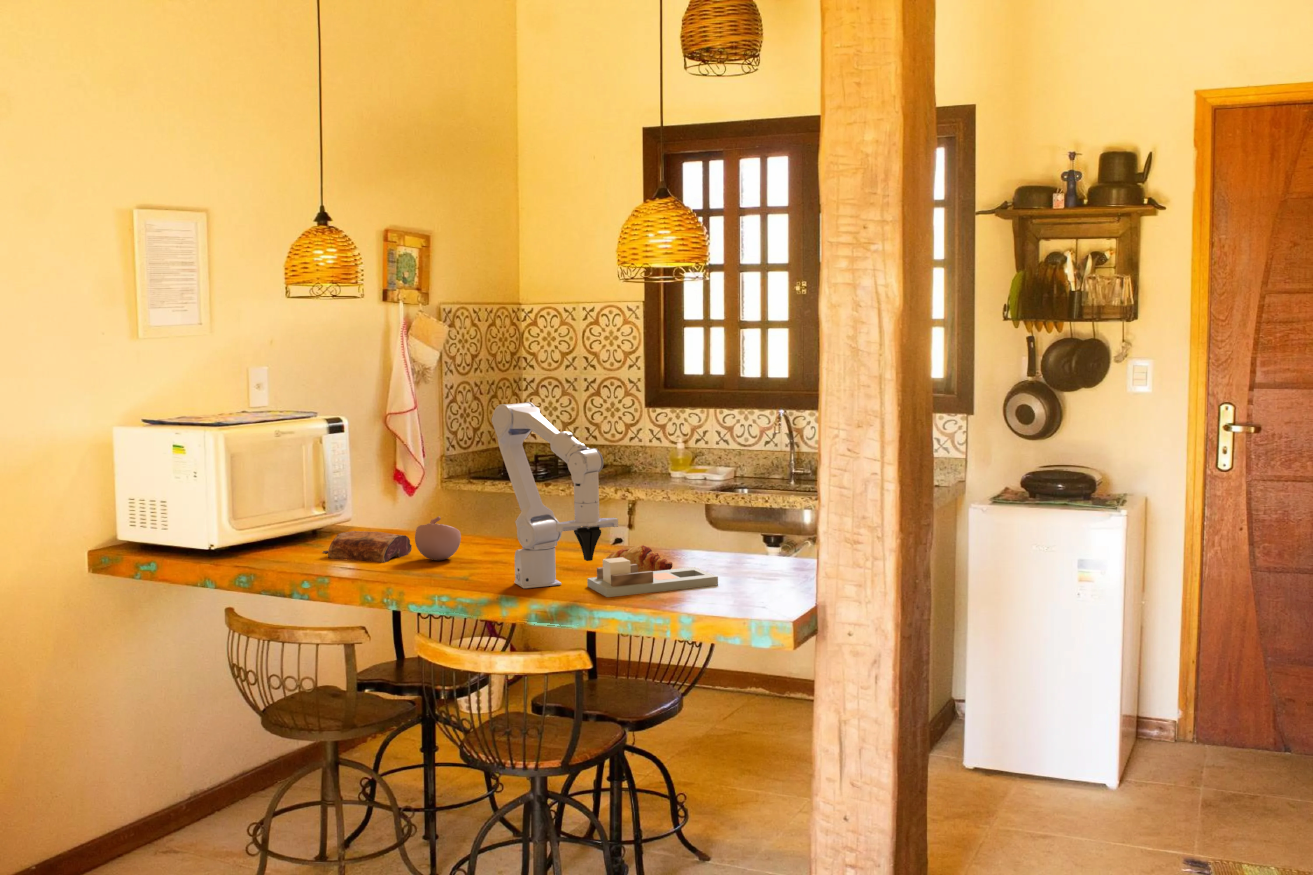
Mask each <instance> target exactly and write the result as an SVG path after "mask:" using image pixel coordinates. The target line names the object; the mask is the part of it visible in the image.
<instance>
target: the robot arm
mask: <svg viewBox="0 0 1313 875" xmlns="http://www.w3.org/2000/svg"><path fill="white" fill-rule="evenodd" d="M490 420H491V423H492V426H493V428H494V432H495V435H496V437H497V444H498V447H499V450H500V453H501V456H502V459H503V462H504V465H505V468H506V472H507V473H508V477H509V480H510V483H511V486H512V490H513V492H514V495H515V497H516V502H517V504H518V506H519V509H520V513H519V515H518V516H517V517H516V520H515V521H514V523H515V525H516V536H517V540H518V542H519V544H520V545H521V546H522V548H521V549H516V550H515V553H514V579H515V580H514V584H516V585H517V586H519V587H520V588H523V589H532V588H533V589H534V588H542V587H549V586H550V587H551V586H552V587H553V586H560V585H562V582H561V581H559V580H558V579H556V578H557V577H556V575H557V572H556V568H557V567H556V546H557V547H558V542H559V541H560V539H561V537H562V533H563V532H569V531H573V533H574V536H575V537H576V539H577V541H578V543H579V545H580V549H581V551H582V555H583V559H584V561H587V562H592V561H593V559H594V553H595V549H596V546H597V543H598V541H599V538H600V537H601V535H602V528H619V518H616V517H602V518H601V517H600V490H599V489H600V487H599V485H600V484H599V483H600V482H599V481H600V479H599V473H600V472H601V470H602V469H603V467H604V458H603V455H602V453H601V452H600V450H599V449H598V448H596V447H592V448H590V447H587V446H586V445H585V444H584V443H582V442H580V440H578V439H577V438H575V437H574V436H573V435H574V434H573V433H572V432H571V431H565V430H564V431H559V430H558V429H557V428H556V427H555V425H553V424H552V423H551V422H550V421H549V420H548V419H546V417H545V416H543V415H542V414H541V410H540V407H538V406H536V405H535V404H534V403H533V402H531V401H525V402H520V403H519V402H518V403H510V404H509V403H508V404H505V403H503V404H498V405H497V406H496V407H495V409H494V410H493V413H492V417H491V419H490ZM531 432H533V433H535V434H536V435H537V436H539V437H540V438H541V439H543V440H545V441H547V443H548V444H550V446H549V447H550V450H551V452H553V453H554V454H555V455H556V456H557V457H559V459H561V460H562V461H564V462H565V463H566V464H567V465H566V466H567V468H568V471H569V472H570V474H571V476H570V477H571V481H572V483H573V500H574V501H573V504H574V505H573V506H574V507H573V508H574V520H567V521H566V520H565V521H561V522H560V521H559V520H558V519H557V517H556V516H555V513H554V511H553V510H552V509H551V508H549V507H547V506H546V505H544V503H543V502H542V501H543V500H542V497H541V495H540V492H539V489H538V487H537V486H538V485H537V484H536V482H535V478H534V474H533V472H532V469H531V466H530V463H529V460H528V458H527V455H526V451H525V449H524V446H523V445H524V444H523V443H524V441H525V440H526V439H528V437H529V435H530V434H531Z"/></svg>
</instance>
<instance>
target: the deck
mask: <svg viewBox="0 0 1313 875" xmlns="http://www.w3.org/2000/svg"><path fill="white" fill-rule="evenodd" d="M652 572H653V583H643V584H634V585H625V586H616V587H613V586H611V584H609V583H607V582H606V581H604V580H603V579H597V576H596V577H588V578H586V579H587V587H588V588H589V589H591V590H592V591H594V592H597V593H599V594H601V595H602V596H604V597H606V598H611V597H614V598H615V597H622V596H631V595H639V594H650V593H659V592H667V591H675V590H677V591H678V590H686V589H693V588H703V587H711V586H718V585H719V577H718V576H717V575H715V574H712V573H710V572H708V571H705V570H703V569H701V568H699V567H696V566H692V567H691V566H690V567H682V568H674V569H673V568H671V569H670V570H661V571H652Z"/></svg>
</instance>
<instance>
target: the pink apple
mask: <svg viewBox="0 0 1313 875" xmlns="http://www.w3.org/2000/svg"><path fill="white" fill-rule="evenodd" d="M440 520H441V516H436V518H433V519H431V520H430V523H426V524H419V525H418V526H417V527H416V529H415V534H414V542H415V545H416V548H417V550H418V552H419V553H420V554H421V555H422V556H423V557H425V558H426V559H429V560H431V561H444V560H446V559H449V558H451V557H452V556H453V555H455V553H456V552H457V551H458V549H459V547H460V545H461V540H462V533H461V531H460V530H459V529H458V528H456V527H453V526H451V525H447V524H443V523H441V524H440V523H437V522H439V521H440Z"/></svg>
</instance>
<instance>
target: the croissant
mask: <svg viewBox="0 0 1313 875" xmlns="http://www.w3.org/2000/svg"><path fill="white" fill-rule="evenodd" d="M620 557H623V558H625V559H627V560H629V561H630V564H637V565H638V572H645V571H661V570H671V569H673V565H674V564H673V562H672V561H668V560H667V559H666V558H665V557H660V555H659V553H658V552H654V551H653V550H652V548H650V547H649V546H646V545H644V544H642V545H636V546H633V547H631V548H623V549H619V550H618V551H617V552H612V553H610V554H609V555H607V556H605V558H604V559H610V558H620Z"/></svg>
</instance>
